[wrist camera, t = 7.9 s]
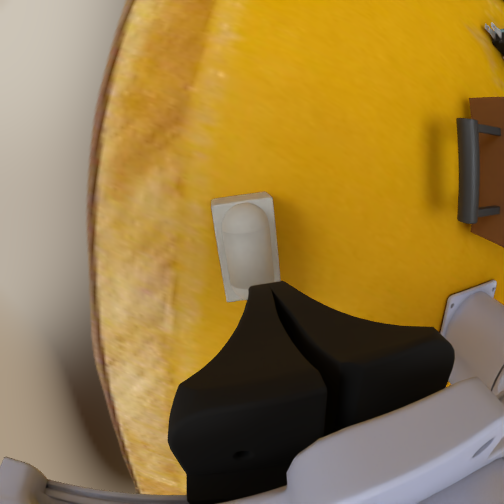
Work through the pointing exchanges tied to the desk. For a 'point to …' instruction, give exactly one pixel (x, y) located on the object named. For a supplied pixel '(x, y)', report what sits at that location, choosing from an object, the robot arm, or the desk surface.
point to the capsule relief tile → (246, 242)
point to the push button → (497, 37)
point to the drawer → (482, 168)
